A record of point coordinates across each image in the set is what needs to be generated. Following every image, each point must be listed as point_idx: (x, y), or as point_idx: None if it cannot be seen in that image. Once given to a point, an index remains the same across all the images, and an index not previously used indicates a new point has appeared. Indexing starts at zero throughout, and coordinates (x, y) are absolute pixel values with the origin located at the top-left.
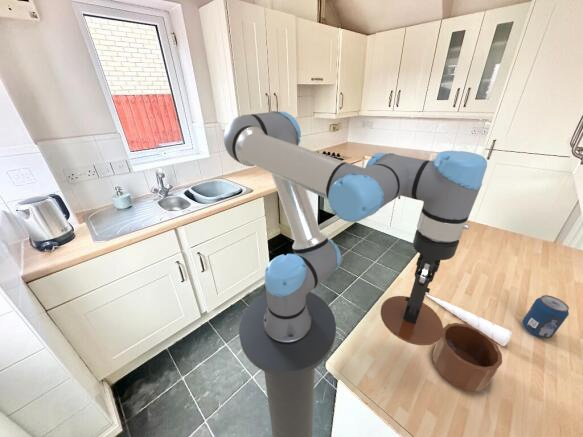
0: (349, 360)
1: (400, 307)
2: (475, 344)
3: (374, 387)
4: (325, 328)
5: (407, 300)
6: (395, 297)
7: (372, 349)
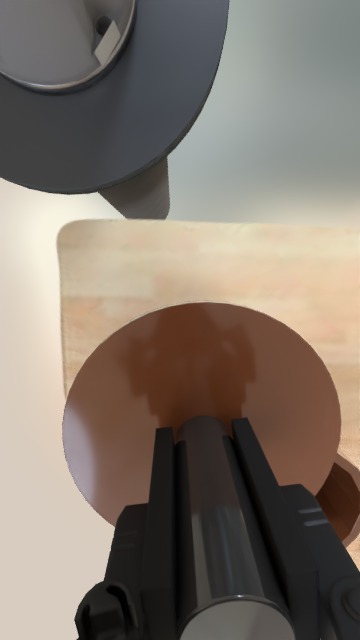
0: (102, 249)
1: (232, 383)
2: (328, 485)
3: (90, 328)
4: (126, 132)
5: (81, 625)
6: (287, 337)
7: (173, 281)
